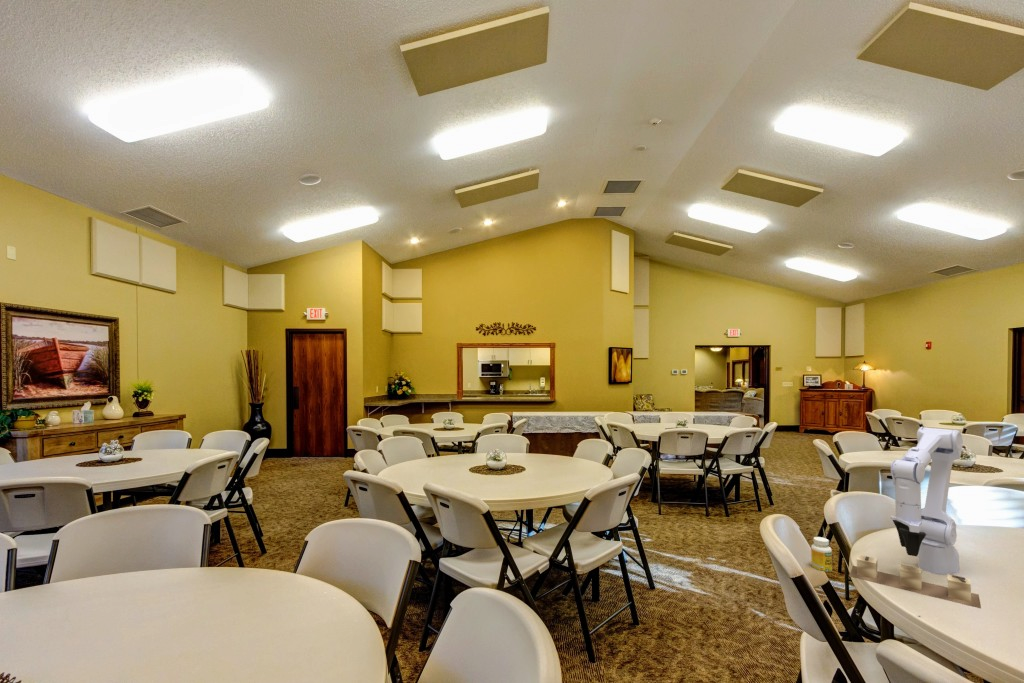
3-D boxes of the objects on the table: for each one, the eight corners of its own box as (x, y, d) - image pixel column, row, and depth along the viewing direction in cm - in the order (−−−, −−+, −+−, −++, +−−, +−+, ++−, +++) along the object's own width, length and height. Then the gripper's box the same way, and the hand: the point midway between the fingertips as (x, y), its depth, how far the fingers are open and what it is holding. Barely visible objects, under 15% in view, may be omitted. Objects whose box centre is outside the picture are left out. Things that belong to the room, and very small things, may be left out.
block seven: (948, 596, 130) (947, 578, 130) (947, 590, 133) (947, 573, 133) (971, 602, 127) (970, 583, 127) (970, 596, 130) (969, 577, 131)
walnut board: (848, 579, 142) (848, 576, 142) (853, 568, 150) (853, 565, 150) (981, 612, 124) (981, 608, 124) (978, 598, 131) (978, 594, 131)
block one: (857, 574, 143) (856, 558, 143) (858, 569, 147) (858, 553, 147) (876, 579, 140) (875, 562, 140) (877, 574, 144) (877, 557, 144)
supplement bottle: (816, 565, 152) (816, 534, 152) (835, 572, 147) (835, 540, 148) (808, 569, 149) (807, 538, 149) (827, 576, 144) (826, 543, 145)
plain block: (900, 585, 137) (900, 568, 137) (901, 579, 140) (900, 564, 140) (921, 590, 134) (920, 573, 134) (921, 584, 137) (921, 568, 137)
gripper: (885, 495, 148) (886, 540, 147) (895, 506, 135) (896, 556, 134) (915, 498, 144) (916, 545, 144) (928, 510, 132) (929, 561, 131)
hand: (909, 551), depth 139 cm, fingers open, 7 cm apart
